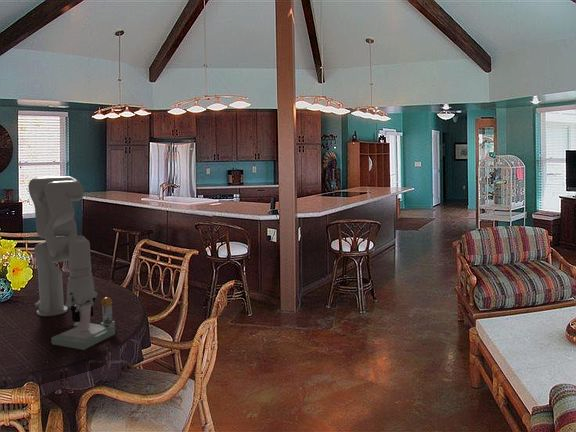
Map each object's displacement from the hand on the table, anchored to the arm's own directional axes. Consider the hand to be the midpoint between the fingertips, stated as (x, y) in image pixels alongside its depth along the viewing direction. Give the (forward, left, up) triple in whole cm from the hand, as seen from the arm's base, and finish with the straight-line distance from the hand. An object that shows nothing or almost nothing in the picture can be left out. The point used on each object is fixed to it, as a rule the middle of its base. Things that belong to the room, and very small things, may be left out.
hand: (82, 318), depth 202 cm
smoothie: (0, 0, -4) cm, 5 cm away
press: (-3, +2, -8) cm, 9 cm away
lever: (+2, +11, -7) cm, 13 cm away
